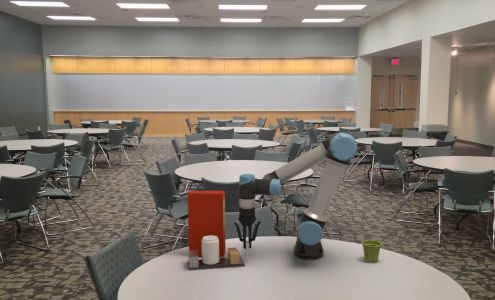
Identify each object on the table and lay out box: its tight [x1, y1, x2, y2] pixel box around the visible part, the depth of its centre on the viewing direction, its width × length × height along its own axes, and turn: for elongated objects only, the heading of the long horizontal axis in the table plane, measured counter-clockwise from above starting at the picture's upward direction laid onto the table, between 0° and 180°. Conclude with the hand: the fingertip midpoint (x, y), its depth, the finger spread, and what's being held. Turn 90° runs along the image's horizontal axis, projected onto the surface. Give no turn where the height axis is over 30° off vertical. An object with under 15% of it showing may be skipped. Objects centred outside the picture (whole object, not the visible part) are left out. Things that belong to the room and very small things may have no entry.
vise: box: [187, 249, 246, 271], centre depth 220 cm, size 26×10×6 cm, turn 100°
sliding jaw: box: [227, 246, 240, 264], centre depth 222 cm, size 4×10×5 cm, turn 10°
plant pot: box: [361, 239, 383, 263], centre depth 224 cm, size 9×9×9 cm
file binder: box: [187, 190, 227, 258], centre depth 233 cm, size 8×17×32 cm, turn 85°
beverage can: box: [201, 235, 220, 265], centre depth 220 cm, size 8×8×12 cm
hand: (247, 255), depth 223 cm, fingers closed
